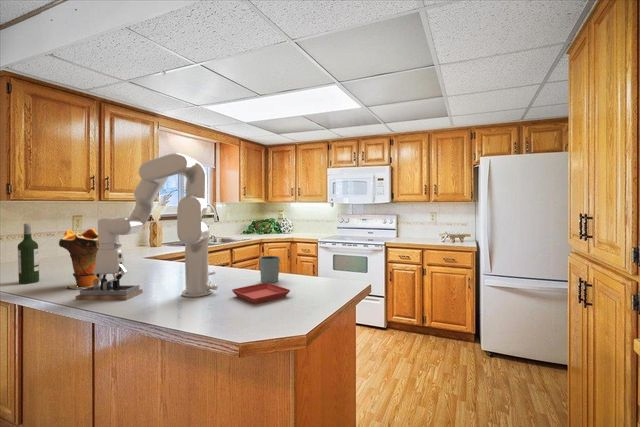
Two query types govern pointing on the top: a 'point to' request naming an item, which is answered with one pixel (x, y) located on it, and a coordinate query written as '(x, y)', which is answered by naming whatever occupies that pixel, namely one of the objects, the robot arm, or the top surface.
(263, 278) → the grey green bin
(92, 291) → the grey rectangular tray
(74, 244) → the decorative vase
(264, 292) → the plant saucer
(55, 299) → the top surface
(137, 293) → the keeper
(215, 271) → the adjustable wrench
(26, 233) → the wine bottle
